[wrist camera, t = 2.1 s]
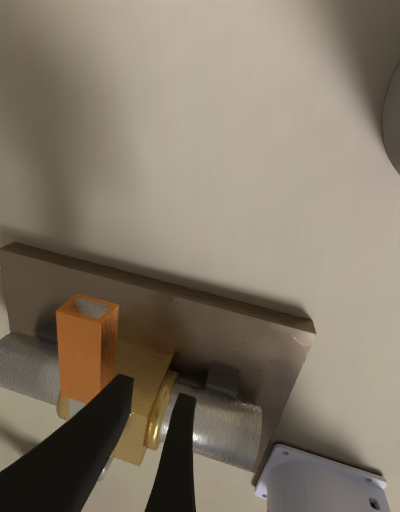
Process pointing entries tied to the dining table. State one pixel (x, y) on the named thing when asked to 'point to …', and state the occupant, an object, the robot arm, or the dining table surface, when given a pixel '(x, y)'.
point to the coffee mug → (392, 119)
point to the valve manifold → (158, 353)
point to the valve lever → (86, 350)
